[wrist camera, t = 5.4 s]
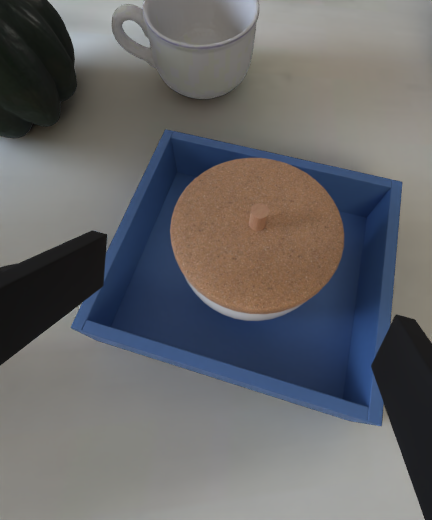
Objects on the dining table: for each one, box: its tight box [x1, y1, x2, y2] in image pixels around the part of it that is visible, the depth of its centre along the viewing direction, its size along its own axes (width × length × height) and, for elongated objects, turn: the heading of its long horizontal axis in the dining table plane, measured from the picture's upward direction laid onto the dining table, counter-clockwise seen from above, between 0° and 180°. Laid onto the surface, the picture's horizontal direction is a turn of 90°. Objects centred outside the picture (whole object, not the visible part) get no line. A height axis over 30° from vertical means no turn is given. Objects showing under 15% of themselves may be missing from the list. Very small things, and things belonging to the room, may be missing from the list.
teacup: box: [112, 0, 259, 99], centre depth 33 cm, size 14×11×8 cm
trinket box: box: [170, 158, 344, 321], centre depth 23 cm, size 11×11×9 cm
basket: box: [71, 130, 402, 426], centre depth 25 cm, size 20×18×5 cm
